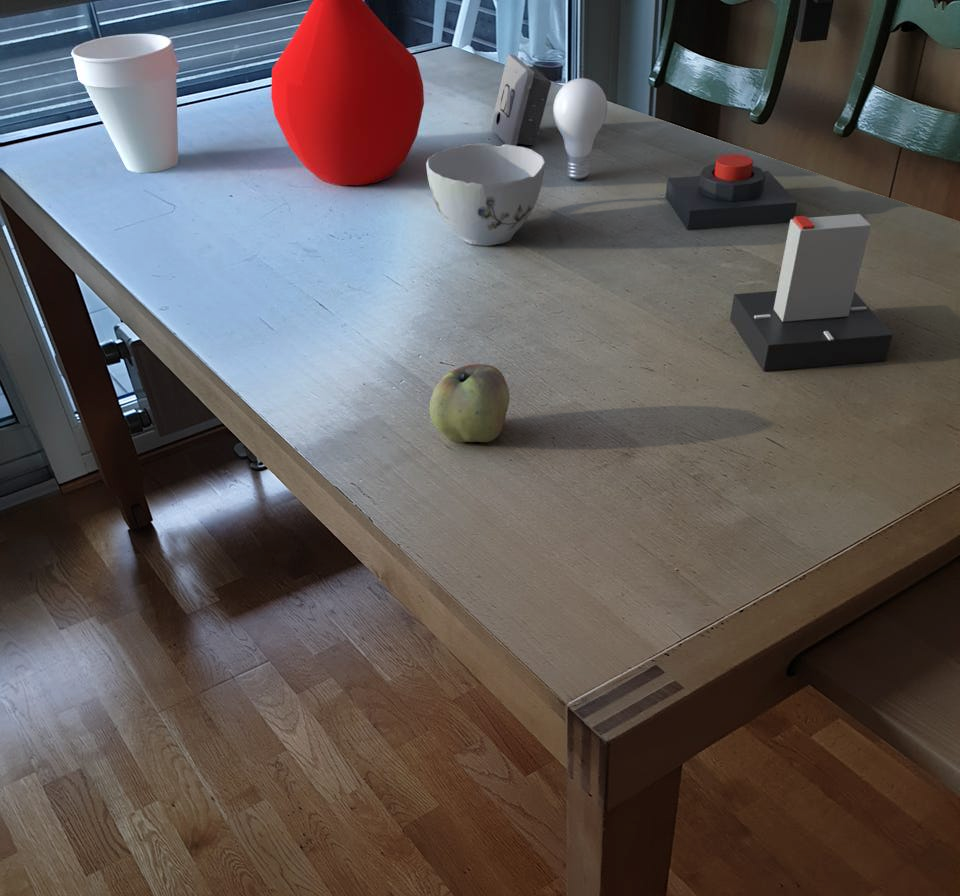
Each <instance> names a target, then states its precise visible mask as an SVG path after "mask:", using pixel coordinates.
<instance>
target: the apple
mask: <svg viewBox="0 0 960 896" xmlns="http://www.w3.org/2000/svg"><path fill="white" fill-rule="evenodd" d="M510 400H511V397H510V389H509V386H508V383H507V381H506V378H505V376H504V375H503V373H502V372H501V371H500V370H499V369H498V368H497V367H495V366H493V365H490V364H484V363H483V364H482V363H477V364H467V365H464V366H460V367H458V368H455V369H453V370H450V371H449V372H447V373H446V374H445V375H444V376H443V377H442V379H441V380H440V381H439V382H438V384H437V385H436V386H435V388H434V389H433V392H432V394H431V396H430V399H429V408H428V409H429V410H428V411H429V416H430V420H431V422H432V424H433V425H434V426H433V427H435V429H437V431H438V432H439V433H440V434H441V435H442V436H443V437H445V439H446V440H448V441H450V442H453V443H467V442H470V443H474V442H479V443H489V442H492V441H494V440H495V439H496V438H497V437H499V435H500V433H501V432H502V430H503V427H504V425H505V423H506V418H507V412H508V409H509V405H510Z"/></svg>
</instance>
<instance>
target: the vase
mask: <svg viewBox="0 0 960 896" xmlns="http://www.w3.org/2000/svg"><path fill="white" fill-rule="evenodd" d="M422 78H423V77H422V74H421V70H420V67H419V63H418V60H417V57H415V56H414V55H413V53H411V52H410V51H409V49H408V48H407V47H406V46H405V45H404V44H403V43H402V42H401V41H400V40H399V39H398V38H397V37H396V36H395V35H394V34H393V33H392V32H391V31H390V30H389V29H388V28H387V27H386V26H385V25H384V23H383V22H382V21H381V20H380V18H379V17H378V16H377V15H376V14H375V13H374V12H373V10H372V9H371V7H370V6H369V5H367V3H366V2H365V1H364V0H312V3H311V4H310V6H309V8H308V9H307V11H306V13H305V15H304V17H303V18H302V21H301V22H300V23H299V25H298V27H297V29H296V31H295V33H294V35H293V36H292V38H291V39H290V40H289V42H288V44H287V45H286V47H285V49H284V50H283V51H282V53H281V55H280V56H279V58H278V59H277V61H276V62H275V64H274V65H273V67H272V68H271V88H270V89H271V91H270V94H271V95H270V97H271V103H272V109H273V113H274V117H275V120H276V121H277V123H278V125H279V128H280V130H281V132H282V134H283V136H284V138H285V140H286V142H287V144H288V147H289V148H290V150H291V151H292V152H293V153H294V154H295V155H296V157H297V158H298V160H299V161H300V162H301V163H302V164H303V166H304V167H305V168H306V169H307V170H308V171H309V172H311V174H313V175H314V176H315V177H317V179H319V180H321V181H323V182H325V183H327V184H332V185H336V184H337V186H346V185H355V186H364V185H370V183H371V184H374V183H375V184H376V183H378V182H381V181H384V180H387V179H388V178H390V177H392V176H393V175H395V173H396V172H397V171H398V170H399V169H400V168H401V166H402V165H403V164H404V163H405V161H406V160H407V157H408V156H409V153H410V151H411V150H412V147H413V145H414V143H415V141H416V138H417V137H418V133H419V128H420V125H421V124H420V123H421V120H422V115H423V110H424V106H425V96H424V95H425V93H424V91H425V90H424V83H423V79H422Z"/></svg>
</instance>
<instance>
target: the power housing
mask: <svg viewBox="0 0 960 896" xmlns="http://www.w3.org/2000/svg"><path fill="white" fill-rule="evenodd" d="M715 166H716V163H713V164H710V165H707V166H704V167H703V169H702V170H701V171H700V173H699V175H695V176H683V177H681V176H680V177H668V178H667V179H666V188H665V199H666V200H667V202H668V204H669V205H670V206H671V208H672V210H673V211H674V213H675V214H676V216H677V217H678V218H679V220H680V221H681V223H682V225H683V226H684V227H685V229H686V230H687V232H689V231H701V230H712V229H713V230H714V229H727V228H737V227H750V226H763V225H777V224H790V220H791V219H794V217H796V212H797V208H798V202H797V201H796V199H795V198H794V197H793V196H792V195H791V194H790V192H788V190H787V189H786V188H785V187H784V186H783V185H782V184H781V183H780V182H779V181H778V180H777V179H776V178H775V176H774V175H773V174H772V173H771V172H770V171H769V170H764V171H763V169H762V168H761V167H758V166H755V165H753V166H752V173H751V178H749V179H746V180H739V181H730V180H722V179H719V178H716V177H714V174H715Z"/></svg>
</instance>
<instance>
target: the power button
mask: <svg viewBox="0 0 960 896" xmlns="http://www.w3.org/2000/svg"><path fill="white" fill-rule="evenodd" d="M715 164H716V166H715V174H714V177H716V178H719V179H722V180H730V181H739V180H746V179H749V178H751V173H752V166H754V159H753V158H751V157H749V156H747V155H745V154H744V155H743V154H738V153H737V154H736V153H731V154H723V155H720V156H718V157H717V158H716V160H715Z"/></svg>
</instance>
